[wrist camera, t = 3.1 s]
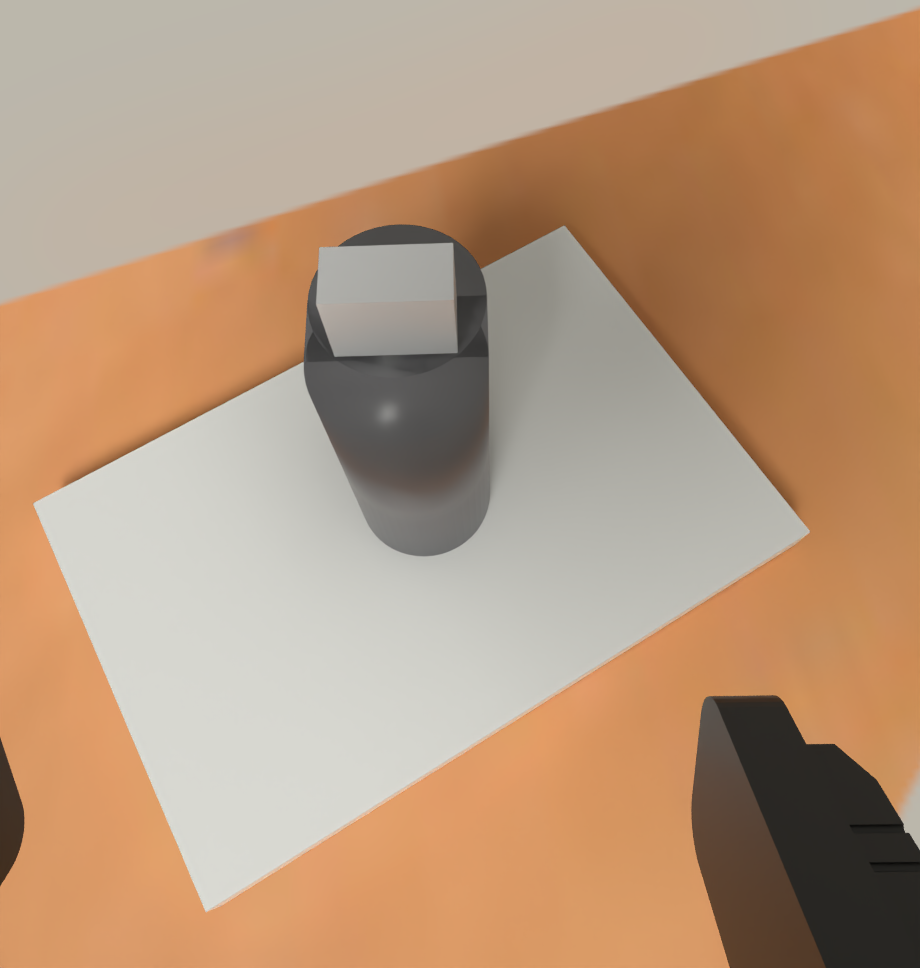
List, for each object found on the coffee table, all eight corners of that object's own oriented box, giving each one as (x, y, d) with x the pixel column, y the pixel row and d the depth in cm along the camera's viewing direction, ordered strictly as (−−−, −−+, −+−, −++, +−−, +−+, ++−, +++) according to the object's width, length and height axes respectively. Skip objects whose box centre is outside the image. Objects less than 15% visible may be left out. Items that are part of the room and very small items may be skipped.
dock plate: (221, 905, 20) (205, 911, 19) (54, 516, 24) (32, 503, 23) (794, 544, 23) (810, 531, 22) (561, 249, 27) (564, 225, 26)
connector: (491, 554, 22) (491, 397, 13) (359, 557, 22) (274, 403, 13) (486, 391, 24) (484, 157, 15) (364, 394, 24) (292, 165, 15)
